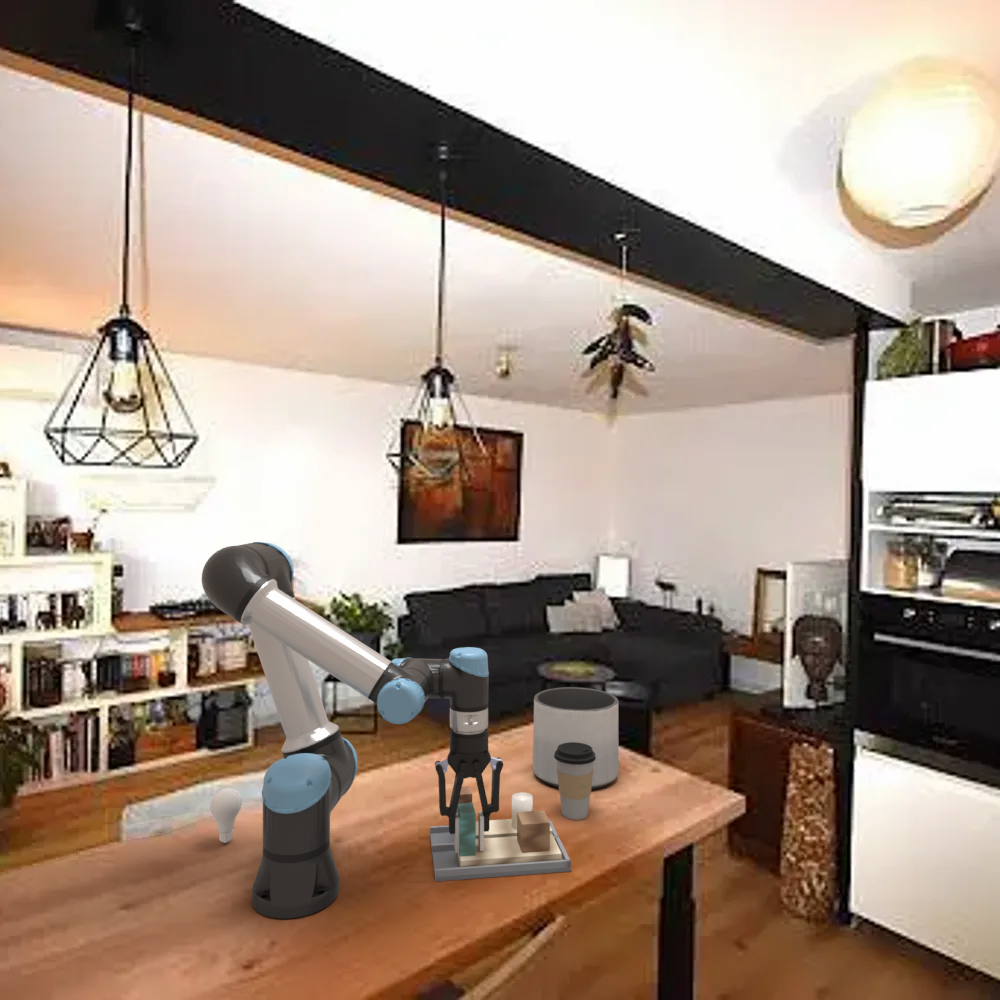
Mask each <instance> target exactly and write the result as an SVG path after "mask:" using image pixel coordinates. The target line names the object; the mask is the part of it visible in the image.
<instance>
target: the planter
mask: <svg viewBox="0 0 1000 1000" xmlns="http://www.w3.org/2000/svg"><path fill="white" fill-rule="evenodd" d="M532 740H533V741H532V745H533V746H532V770H533V773H534V774H535V776H536V777H538V778H539V779H540V781H542V782H544V783H545V784H548V785H550V786H552V787H555V788H559V786H558V775H557V760H556V759H555V758H554V755H555V751H556V750H557V748H558V746H559V745H560V744H563V743H569V742H577V743H583V744H587V745H589V746H591V747H592V750H593V752H594V753H595V757H596V759H595V761H594V762H593V778H592V787H591V790H595V789H600V788H604V787H606V786H608V785H610V784H611V783H612V782H613V781H615V780H616V779H617V778H618V776H619V768H620V767H619V765H620V763H619V762H620V761H619V755H620V754H619V753H620V752H619V751H620V750H619V749H620V748H619V744H620V743H619V742H620V741H619V699H618V698H617V696H615V695H614V694H612V693H610V692H607V691H604V690H599V689H595V688H590V687H577V686H576V687H575V686H573V687H572V686H571V687H569V686H568V687H554V688H549V689H545V690H542V691H540V692H537V693H536V694H535V695H534V697H533V738H532Z"/></svg>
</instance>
